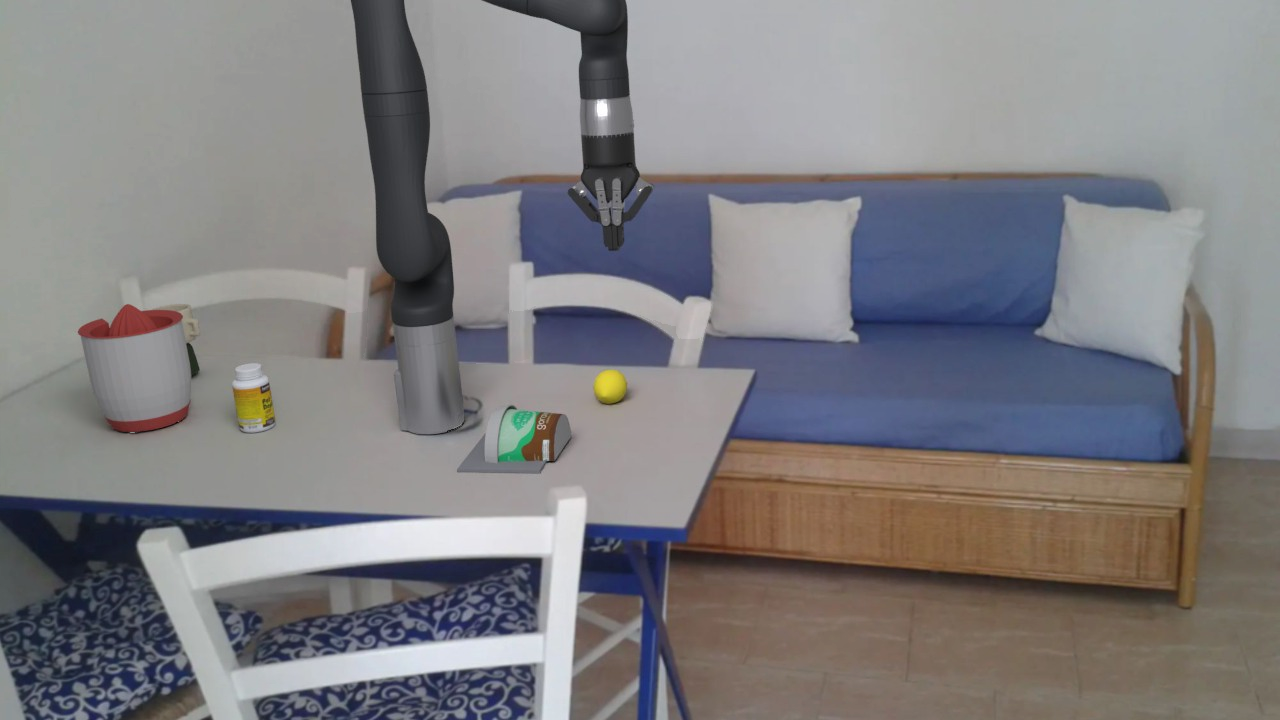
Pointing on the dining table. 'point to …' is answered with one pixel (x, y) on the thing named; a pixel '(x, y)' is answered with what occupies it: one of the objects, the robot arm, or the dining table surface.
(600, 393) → the lemon
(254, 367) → the supplement bottle
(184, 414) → the citrus juicer
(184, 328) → the character mug
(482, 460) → the charcoal mat
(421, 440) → the dining table surface
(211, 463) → the dining table surface
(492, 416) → the food container
